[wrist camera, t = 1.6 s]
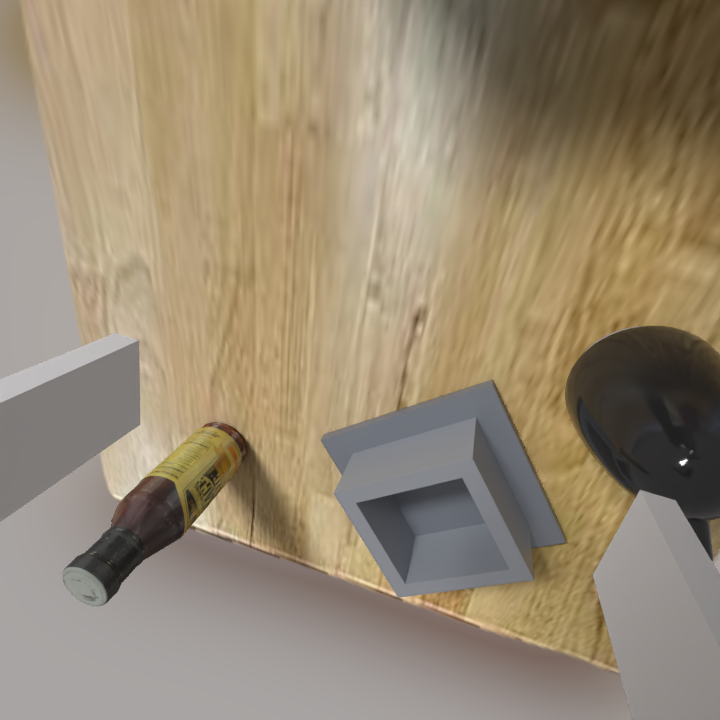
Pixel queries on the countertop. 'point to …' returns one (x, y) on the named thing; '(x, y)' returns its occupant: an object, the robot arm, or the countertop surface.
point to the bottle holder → (444, 493)
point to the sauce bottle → (157, 511)
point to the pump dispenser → (653, 416)
